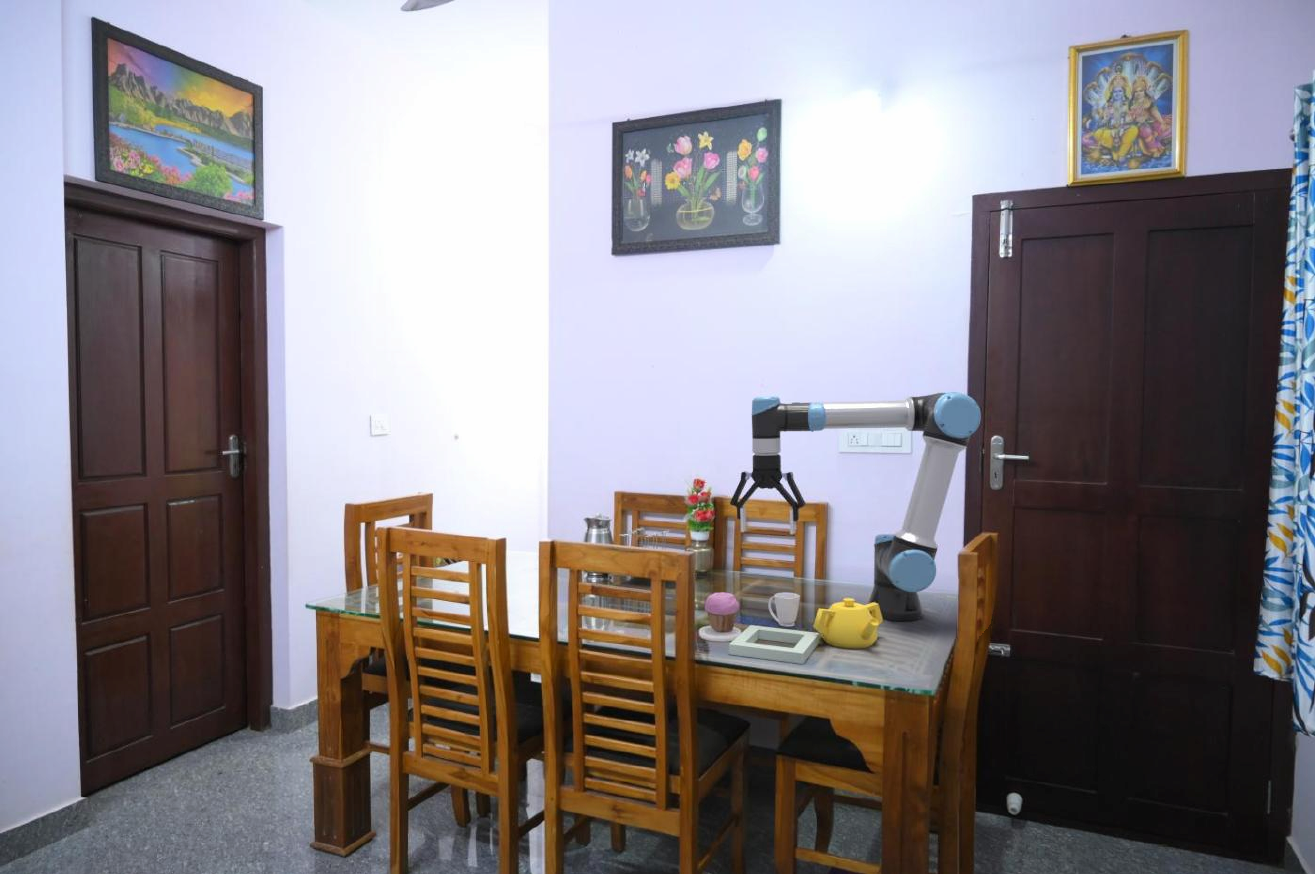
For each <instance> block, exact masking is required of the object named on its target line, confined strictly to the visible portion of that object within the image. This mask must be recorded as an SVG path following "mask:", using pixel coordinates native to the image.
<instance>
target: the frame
mask: <svg viewBox="0 0 1315 874" xmlns="http://www.w3.org/2000/svg"><path fill="white" fill-rule="evenodd" d="M758 640H764V641H771V642H781V643H788V644H795V646H794V647H784V646H780V645H779V646H778V645H769V644H762V643H756V642H757V641H758ZM819 644H820V632H812V631H804V630H796V629H787V628H786V629H785V628H778V627H770V626H761V625H752V624H750V625H749V626H747V628H746V629H744V630H743V631H741V634H740V635H739V636H738V637H737V638H735V639H734V640H733V641H730V642H729V644H728V655H731V656H737V657H738V656H739V657H746V658H754V659H761V660H767V661H768V660H770V661H777V662H782V663H783V662H785V663H792V664H799V665H804V663H805V662H806V660H808V658H809V657H810V656H811V654H812V653H813V652H814V651H815V649H816V648H817V646H818V645H819Z"/></svg>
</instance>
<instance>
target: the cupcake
mask: <svg viewBox="0 0 1315 874" xmlns="http://www.w3.org/2000/svg"><path fill="white" fill-rule="evenodd" d="M704 610H705V611H706V613H707V618H708V622H709V626H711V627H712V629H714V630H716V631H718V632H725V631H732V630H733V627H735V621H736V613H737V612H738V611H739V610H740V604H739V601H738V600H737V598H736V597H735V595H734V594H733V593H729V592H724V591H723V592H722V591H721V592H714V593H712V594H711V595H709V596H708V597H707V598H706V599H705V604H704Z"/></svg>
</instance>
